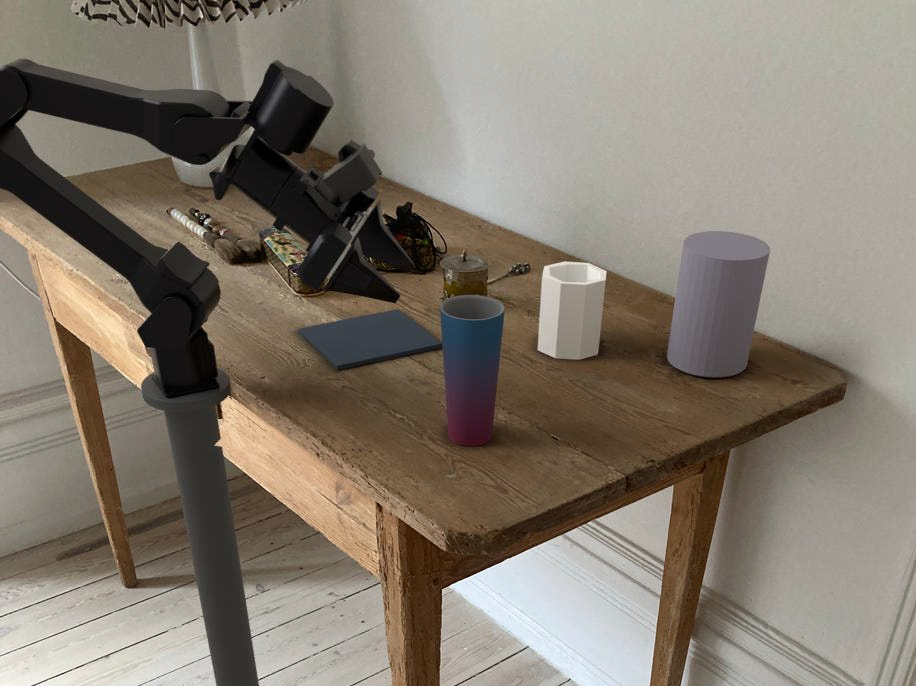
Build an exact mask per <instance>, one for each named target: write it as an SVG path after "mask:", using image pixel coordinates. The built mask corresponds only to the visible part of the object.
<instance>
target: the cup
mask: <svg viewBox="0 0 916 686" xmlns="http://www.w3.org/2000/svg"><path fill="white" fill-rule="evenodd" d="M505 312H506V308H505V305H504V303H503V302H501V301H500V300H498V299H496V298H493V297H489V296H486V295H479V294H462V295H455V296H452V297H449V298H447V299H445V300H443V301H442V302H441V303H440V305H439V313H440V314H439V315H440V327H441V328H440V331H441V343H442V361H443V362H442V363H443V374H444V376H443V377H444V391H445V392H444V393H445V407H446V409H445V410H446V424H447V425H446V426H447V437H448V439H449V440H450V441H451V442H453V443H454V444H457V445H460V446H464V447H477V446H482V445H485V444H487V443H489V442H490V441H491V439H492V437H493V429H494V421H495V411H496V409H495V408H496V400H497V392H498V391H497V390H498V382H499V381H498V380H499V371H500V361H501V353H502V351H501V350H502V341H503V332H504V322H505V321H504V320H505Z"/></svg>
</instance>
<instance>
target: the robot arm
mask: <svg viewBox="0 0 916 686" xmlns="http://www.w3.org/2000/svg"><path fill="white" fill-rule="evenodd" d="M334 104H335V102H334V98H333V97H332V95H331V93H330V92H329V91H328V90H327V89H326V88H325V87H324V86H323V85H322V84H321V83H320V82H319V81H318V80H317V79H315V77H313V76H311V75H307V74H305V73H303V72H301V71H300V70H298V69H296V68H293V67H290V66H286V65H285V64H284V63H283V62H282V61H280V60H279V59H275V60H273V61H272V62H271V63H269V66H268V68H267V69H266V71H265V73H264V76H263V80H262V83H261V84H260V86H259V89H258V91H256V93H255V95H254V97H253V100H232V99H231V100H229V99H226V98H225V97H224V96H223V95H221V94H220V93H218V92H216V91H214V90H209V89H195V88H194V89H190V88H170V89H155V90H154V89H143V88H139V87H134V86H131V85H126V84H121V83H117V82H114V81H110V80H105V79H101V78H97V77H93V76H89V75H84V74H81V73H77V72H72V71H68V70H63V69H60V68H55V67H51V66H47V65H44V64H39V63H37V62H35V61H33V60H31V59H29V58H18V59H16V60H13V61H11V62H9V63H6V64H4V65H2V66H0V190H2V191H5V192H8V193H10V194H12V195H13V196H14V197H16V198H17V199H18V200H19V201H21V202H23V204H25V205H26V206H28V207H29V208H30V209H32V210H33V211H34V212H36V213H37V214H38V215H40V216H41V217H43V218H44V219H45V220H47V221H48V222H49V223H50V224H52V225H53V226H55V227H56V228H57V229H59V230H60V231H62V232H63V234H65V235H66V236H68V237H69V238H71V239H72V240H73V241H75V242H76V243H77V244H79V245H80V246H81V247H83V248H84V249H86V250H87V251H88V252H89V253H91V254H92V255H94V256H95V257H96V258H98V259H99V260H100V261H102V262H103V263H104V264H106V266H108V267H109V268H111V269H113V270H114V271H115V272H116V273H118V274H119V275H120V276H121V277H123V278H124V279H125V280H126V281H128V283H129V284H130V286H131V287H132V289H133V291H134V293H135V295H136V296H137V298H138V299H139V301H140V303H141V304H142V306H143V307H144V308H145V309H146V310H148V312H149V313H150V315H149V316H148V317H147V318H146V319H145V320H144V322H143V323H142V324H141V325H139V327H138V328H137V329H136V332H137V335H138V336H139V339H140V340H141V342H142V344H143V345H144V347H145V348H148V349H149V352H150V357H151V362H152V369H153V372H154V373H153V372H152V373H153V374H152V375H151V376H152V379H153V381H154V382H155V384H156V385H157V386H158V388H159V389H160V390H161V392H162V393H163V395H164V396H165V397H166V398H174V397H179V396H183V395H188V394H193V393H198V392H202V391H207V390H212V389H217V388H219V387H220V386H219V382H218V381H217V380H216V379H215V377H217V376H218V370H217V368H218V363H217V357H216V351H215V344H213V342H212V341H211V340H210V339H209V336H208V332H207V331H206V330H205V329H204V327H203V325H204V324H205V323H207V322H208V320H209V317H210V315H211V314H212V313H213V311H214V310H215V309H216V308H217V306H218V305H219V302H220V300H221V294H222V292H221V287H220V282H219V279H218V277H217V275H216V274H215V273H214V272H213V271H212V270H211V269H209V266H210V262H209V261H207V260H203V259H201V258H200V257H198V256H197V255H195V254H194V253H193V252H192V251H191V250H190V249H189V247H187V246H186V245H185V244H184V243H182V242H180V241H176V242H175V243H174V244H173V245H172V246H171V247H170V248H169V249H168V248H164V247H160V246H157V245H155V244H153V243H152V242H150V241H148V240H147V239H146V238H144V237H143V236H142V235H141V234H139V233H138V232H137V231H136V230H134V229H133V228H131V227H130V226H129V225H128V224H126V223H125V222H123V220H121V219H120V218H118V217H117V216H116V215H114V214H113V213H112V212H110V210H108V209H107V208H106V207H104V206H103V205H101V203H99V202H97V201H96V200H95V199H94V198H92V197H91V196H90V195H88V194H87V193H86V192H84V191H83V190H82V189H80V188H79V187H77V186H76V185H75V184H74V183H73V182H71V181H70V180H69V179H67V178H66V177H64V175H62V173H59V172H58V171H57V170H55V169H54V168H53V167H52V166H51V165H49V164H48V163H46V162H45V161H43V159H41V157H39V156H38V155H37V154H36V152H35V151H34V150H33V148H32V145H30V143H29V141H28V140H27V138H26V136H25V134H24V132H23V131H22V130H21V128H20V127H19V126H18V125H17V124H18V123H19V122H20V121H21V120H22V119H23V118H24V117H25V116H26V115H27V114H28V112H29V111H30V112H35V113H39V114H43V115H47V116H51V117H56V118H59V119H64V120H68V121H73V122H76V123H81V124H85V125H89V126H93V127H97V128H102V129H106V130H110V131H114V132H119V133H123V134H127V135H131V136H134V137H136V138H139V139H141V140H144V141H145V142H146V143H148V144H149V145H151V146H152V147H154V148H155V149H157V150H158V151H159V152H161V153H163V154H165V155H168V156H171V157H173V158H175V159H177V160H180V161H182V162H184V163H187V164H190V165H193V166H203V165H207V164H209V163H210V162H212V161H213V160H214V159H215V158H217V157H218V156H220V154H221V153H222V152H224V151H225V150H226V149H227V148H228V147H229V146H230V145H232V143H234V142H236V141H237V140H238V139H239V138H240V137H241V136H243V134H245V133H246V132H247V131H248V130H249V129H250V128H251V127H252V128H253V131H252V133H251V134H250V137H249V138H248V140H247V142H246V144H235V145H234V146H233V147H232V148H231V150H230V152H229V153H228V156H227V158H226V160H225V161H224V164H223V165H222V166H215V167H214V168H213V169H212V170H211V171H209V173H208V176H209V178H210V179H211V183H212V189H213V194H214V199H215V200H216V201H222V200H223V198H224V197H225V196H226V195H227V194H229V193H230V191H231V190H232V188H233V189H235V190H236V191H238V192H239V193H241V194H242V195H243V196H244V197H246V198H247V199H248V200H250V201H251V202H252V203H254V204H255V205H256V206H258V207H259V208H260V209H262V210H263V211H264V212H265V213H267V214H268V215H269V216H271V217H272V218H273V219H275V220H274V221H273V223H272V227H274V228H275V229H276V230H278V231H279V232H281V231H282V230H283V229H284V228H287V229H288V230H290V231H291V232H292V233H294V234H295V235H296V236H298V237H299V238H300V239H301V240H303V241H304V242H305V243H307V244H308V246H307V247H306V249H305V252H307V253H306V255H305V257H304V258H303V260H302V261H301V263H300V264H299V266H298V268H297V273H298V276H299V281H300V283H301V284H303V285H304V286H306V287H307V288H308V289H310V290H311V291H312V292H314V293H317V292H318V291H319V289H320V288H321V287H322V285H323V283H324V282H325V280H326V279H328V280H327V281H326V283H325V285H324V286H323V288H322V291H323V292H325V293H328V292H334V293H340V294H346V295H347V294H348V295H353V296H359V297H364V298H369V299H372V300H378V301H382V302H387V303H392V304H396V303H397V302H398V301H399V300H400V298H401V293H400V292H399V290H397V289H396V288H395V286H393V285H392V283H391V282H389V281H388V280H387V279H386V277H384V276H383V275H382V274H381V272H379V271H378V270H377V269H376V268H375V267H374V266H373V265H372V264H371V263H370V262H369V261H368V260H367V259H366V258H365V257H368V258H369V259H371V260H374V261H377V262H380V263H382V264H384V265H386V266H390V267H392V268H395V269H397V270H400V271H404V272H405V273H410V272H411V271H412V270H413V268H414V266H415V263H414V262H413V260H412V259H411V257H409V255H408V254H407V252H406V251H405V250H404V248H403V247H402V246H401V244H400V243H399V242H398V240H397V239H396V238H395V236H394V235H393V234H392V232H391V231H390V230H389V228H388V227H387V225H386V224H385V222H384V218H383V217H384V216H383V209H382V205H383V203H382V200H381V199H378V201H377V202H376V204H375V206H374V207H372V205H373V204H374V203H375V200H376V199H377V197H378V196H379V194H380V192H379V190H377V189H376V188H374V187H373V186H374V185H375V184H376V183H377V182H378V180H379V179H378V177H379V176H381V175H382V174H383V171H382V169H381V168H380V167H379V165H378V163H377V162H376V161H375V159H374V158H375V157H376V154H375V151H374V150H373V149H369V148H368V147H367V145H366V144H365V143H364V144H362V145H360V144H359V143H357V142H356V141H354V140H352V139H351V140H349V141H348V142H346V143H345V144H344V145H342V146H341V147H340V148H339V149H338V151H337V156H338V160H339V161H338V163H336V164H334V166H333V167H332V168H331V169H329V170H328V171H326V172H325V173H323V172H322V171H320V170H319V169H318V168H316V167H309V168H308V169H307V170H306V171H305V170H304V169H303V168H302V167H300V166H299V164H297V163H295V162H294V161H293V160H291V159H290V158H289V157H291V156H292V155H293V153H295V154H300V155H301V154H305V153H306V152H307V150H308V149H309V147H310V145H311V144H312V142H313V141H314V139H315V137H316V135H317V134H318V132H319V130H320V129H321V127H322V125H323V123H324V122H325V120H326V119H327V117H328V115H329V113H330V112H331V111H332V109H333V107H334ZM288 156H289V157H288Z"/></svg>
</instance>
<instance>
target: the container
mask: <svg viewBox="0 0 916 686" xmlns="http://www.w3.org/2000/svg"><path fill="white" fill-rule="evenodd" d="M770 252H771V247H770V246H769V245H768V243H767V242H765V241H764V240H762V239H760V238H759V237H755V236H752V235H749V234H744V233H739V232H736V231H735V232H734V231H726V230H725V231H723V230H709V231H708V230H707V231H699V232H695V233H691V234H690V235H688V236H686V237H685V238H684V240H683V244H682V249H681V256H680V264H679V271H678V277H677V284H676V292H675V298H674V306H673V312H672V319H671V325H670V331H669V339H668V344H667V345H668V346H667V351H666V352H667V353H666V359H667V362H668V363H669V364H670V365H671V366H672V367H674V368H675V369H677V370H679V371H681V372H683V373H684V374H688V375H690V376H695V377H699V378H706V379H724V378H730V377H733V376H736V375H738V374H740V373H742V372H743V371H744V370H746V369H747V366H748V362H749V358H750V357H749V356H750V352H751V347H752V344H753V343H752V342H753V337H754V332H755V328H756V327H755V326H756V322H757V319H758V318H757V317H758V313H759V306H760V303H761V297H762V293H763V287H764V283H765V278H766V274H767V273H766V272H767V269H768V263H769V257H770Z"/></svg>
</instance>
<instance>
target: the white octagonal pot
mask: <svg viewBox="0 0 916 686" xmlns="http://www.w3.org/2000/svg"><path fill="white" fill-rule="evenodd" d="M606 282H607V270H605V269H604V268H601V267H599V266H596V265H594V264H592V263H590V262H581V261H580V262H578V261H577V262H576V261H561V262H556V263H552V264H548V265H544V266H543V271H542V274H541V286H540V287H541V290H540V302H539V303H540V304H539V306H540V307H539V322H538V336H537V351H538V352H541V353H543V354H545V355H547V356H549V357H551V358H554V359H560V360H561V359H562V360H575V361H576V360H577V361H578V360H579V361H580V360H584V359H587V358H590V357H594V356H597V355H598V354H599V349H600V340H601V339H600V338H601V330H602V320H603V310H604V301H605V290H606Z"/></svg>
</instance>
